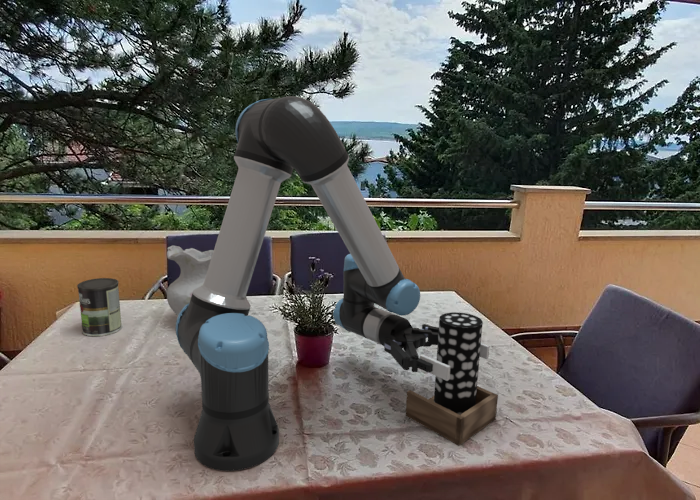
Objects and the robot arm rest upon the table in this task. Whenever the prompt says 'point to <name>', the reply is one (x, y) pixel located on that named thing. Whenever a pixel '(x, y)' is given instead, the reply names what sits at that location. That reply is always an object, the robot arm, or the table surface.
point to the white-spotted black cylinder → (458, 360)
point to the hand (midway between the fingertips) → (469, 362)
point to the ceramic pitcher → (187, 275)
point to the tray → (453, 415)
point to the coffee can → (99, 306)
